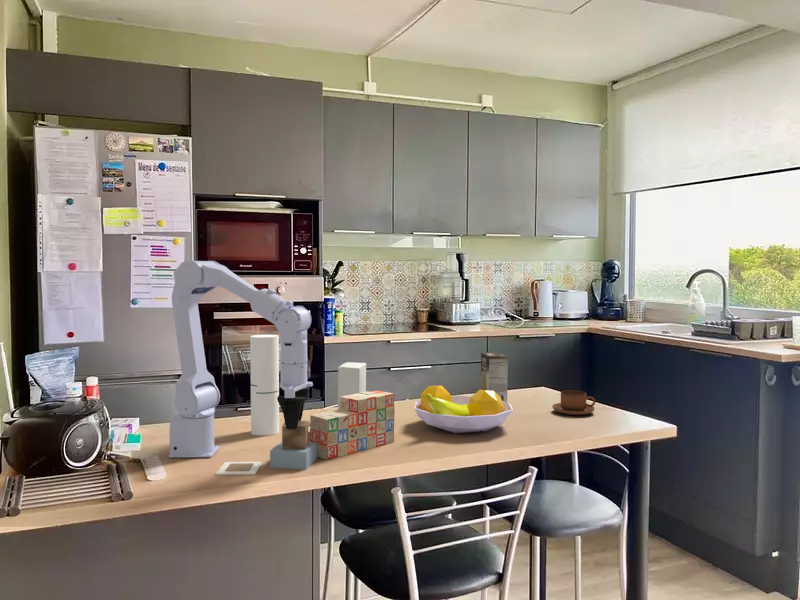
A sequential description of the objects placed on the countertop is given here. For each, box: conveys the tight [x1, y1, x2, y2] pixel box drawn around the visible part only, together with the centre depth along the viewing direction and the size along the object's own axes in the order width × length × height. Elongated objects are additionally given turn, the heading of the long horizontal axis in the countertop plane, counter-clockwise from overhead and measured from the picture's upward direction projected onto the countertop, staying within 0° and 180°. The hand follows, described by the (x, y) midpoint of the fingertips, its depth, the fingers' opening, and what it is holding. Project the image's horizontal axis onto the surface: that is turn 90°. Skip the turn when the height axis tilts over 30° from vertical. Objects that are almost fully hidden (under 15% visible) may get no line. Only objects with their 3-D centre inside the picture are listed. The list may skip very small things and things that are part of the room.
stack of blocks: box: [309, 390, 396, 461], centre depth 153 cm, size 21×6×12 cm, turn 136°
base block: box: [269, 441, 318, 470], centre depth 142 cm, size 8×8×4 cm
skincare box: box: [337, 361, 367, 410], centre depth 183 cm, size 8×7×16 cm
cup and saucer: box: [552, 389, 596, 416], centre depth 192 cm, size 12×12×6 cm
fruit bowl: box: [413, 385, 514, 434], centre depth 174 cm, size 28×27×11 cm
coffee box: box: [480, 351, 509, 403], centre depth 201 cm, size 9×6×16 cm
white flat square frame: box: [215, 461, 263, 476], centre depth 138 cm, size 8×8×1 cm
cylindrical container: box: [249, 334, 280, 437], centre depth 168 cm, size 7×7×25 cm
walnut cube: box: [281, 420, 309, 449], centre depth 142 cm, size 5×5×5 cm
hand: (294, 424), depth 142 cm, fingers open, 7 cm apart
